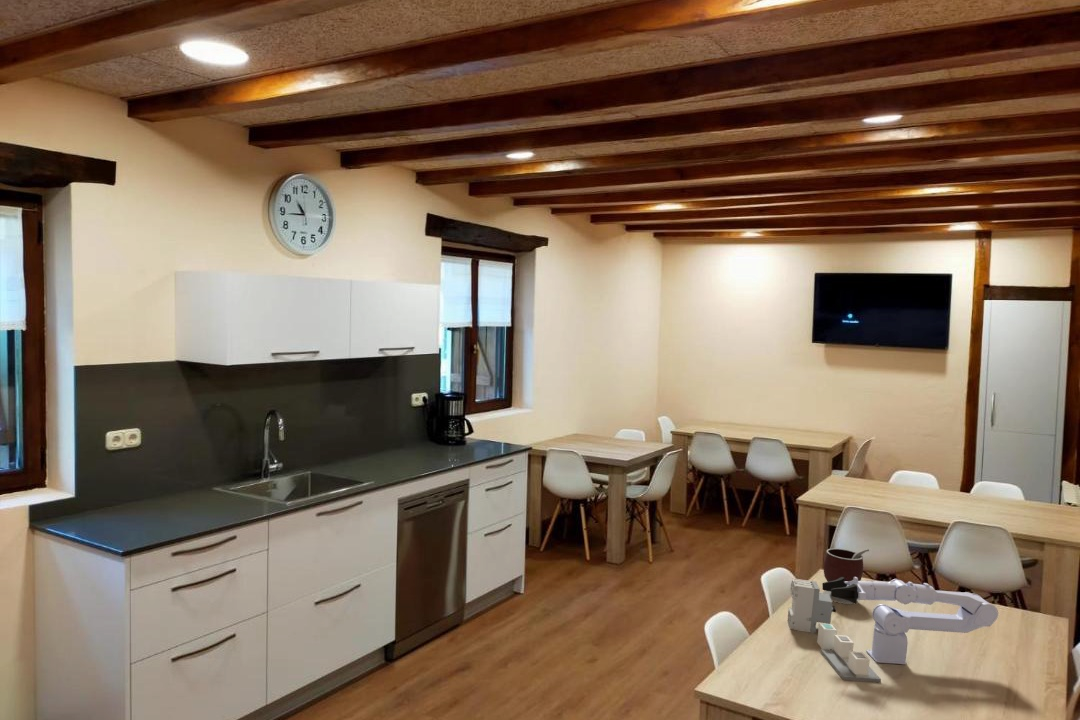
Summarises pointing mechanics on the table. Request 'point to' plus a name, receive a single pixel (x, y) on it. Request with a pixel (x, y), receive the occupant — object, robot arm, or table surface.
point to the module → (826, 636)
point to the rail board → (845, 670)
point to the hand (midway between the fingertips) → (826, 589)
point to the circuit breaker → (808, 606)
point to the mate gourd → (842, 567)
